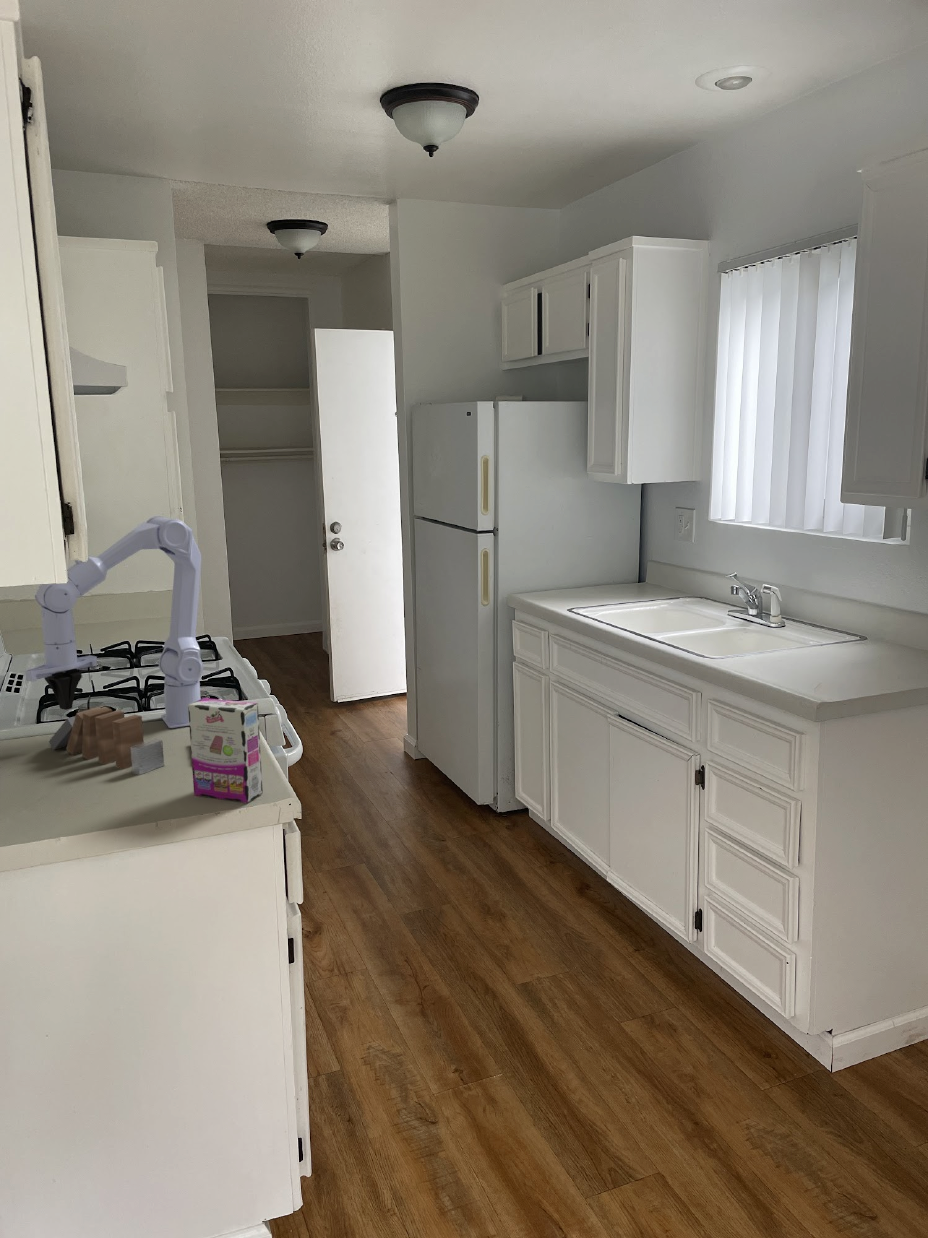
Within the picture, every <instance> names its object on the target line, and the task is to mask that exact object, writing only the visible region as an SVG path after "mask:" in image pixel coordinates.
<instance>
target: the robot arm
mask: <svg viewBox="0 0 928 1238" xmlns="http://www.w3.org/2000/svg"><path fill="white" fill-rule="evenodd" d="M193 532H194V531H193V529H191V527H189V526H188V525H187V524H186V523H185V522H184V521H182V520H181V519H179V518H167V517H164V516H161V515H159V516H153V517H150V518H148V520H147V521H146V522H142V523H140V524H137V526H135V528H134V529H132V530H131V531H130V532H128V533H127V534H126V535H124V536H123V537H121V538H120V539H118V541H115V543H114V544H112V545H111V546H109V547H108V548H107V549H106V550H104V551H103V552H102V553H100V554H99V555H98V556H96V557H93V556H88V561H87V562H82V561H78V560H76V559H75V560H74V562H75V564H73V565H72V566H70V567H69V568H68V569H66V570H67V571H68V579H69V581H68V582H67V584H42V583H41V584H42V585H41V584H40V585H39V586H38V589H37V590H36V594H35V595H34V598H35V601H36V602H37V604H38V605H39V606H40V612H41V628H42V629H41V630H42V637H43V638H42V639H43V647H44V649H43V650H44V658H45V663H44V664H42V665H39V666H36V667H33V668H30V669H27V670H24V675H25V681H28V682H31V683H33V682H36V681H37V680H41V679H44V680H45V682H46V683H47V684H48V685H49V686H50V688H51V690H52V692H53V694H54V696H55V698H56V700H57V703H58V706H59V709H60V710H64V711H65V710H67V711H68V710H72V709H73V704H74V699H75V694H76V691H77V688H78V685H79V683H80V681H81V679H82V678H83V677H82V676H83V675H82V672H81V671H78V670H81V669H85V668H90V667H97V666H98V658H97V657H98V656H95V655H85V656H81V657H78V654H77V651H78V650H77V643H76V632H75V631H76V630H75V620H74V615H73V608H74V607H75V605H76V603H77V599H79V598H81V597H82V596H84V595H86V594H87V593H88V592H90V591H91V590H93V589H94V588H95V587H97V586H99V585H100V584H101V583H103V582H104V581H106V579H107V574H108V571H109V570H111V569H112V568H114V567H115V566H118V565H119V564H120V563H122V562H124V561H125V560H126V559H129V558H130V557H131V556H133V555H135V554H136V553H138V552H140V551H141V550H161V551H162V552H164V554H165V555H166V556H168V557H169V558H170V559H171V561H173V563H174V569H173V570H174V571H173V582H172V583H173V584H172V598H171V599H172V600H171V610H170V624H169V635H168V637H167V639H166V640H165V641H164V645H163V650H162V653H161V654H160V656H159V659H158V667H159V670H160V672H162V674H164V680H163V682H164V689H163V694H164V698H163V699H164V711H165V714H161V715H160V717H161V719H162V720H163V722H164V723H165V725H166V726H167V728H168V729H174V728H183V727H187V726H189V712H188V705H189V704H192V703H194V702H196V701H198V700H201V699H202V698H201V686H200V685H201V683H200V678H201V676H202V675H203V672H204V663H203V661H202V659H201V648H200V645H199V643H198V641H197V639H196V636H197V635H196V634H197V621H198V610H199V609H198V608H199V596H200V582H201V569H202V554H201V552H200V551H201V550H200V548H199V547H198V545H197V542H196V539H194V533H193ZM189 727H190V726H189Z"/></svg>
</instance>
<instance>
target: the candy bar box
mask: <svg viewBox="0 0 928 1238" xmlns="http://www.w3.org/2000/svg"><path fill="white" fill-rule="evenodd" d="M188 712H189V735H190V736H189V737H190V750H191V751H190V753H191V754H190V755H191V767H192V784H193V794H194V796H196V795H198V796H199V797H203V798H209V797H210V799H216V798H218V799H217V800H223V801H232V802H238V803H239V802H240V803H246V804H247V803H250V802H252V801H253V800H255V799H256V798H258V797H260V796H261V795H262V794H263V791H264V790H263V773H262V760H261V759H262V757H261V737H260V721H259V720H260V718H259V717H260V716H259V703H258V702H250V701H249V702H247V701H241V700H240V701H239V700H229V699H217V698H206V697H204V698H201V700H198V701H196V702H194V703H192V704H189V705H188ZM198 796H197V797H198Z"/></svg>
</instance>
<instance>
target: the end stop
mask: <svg viewBox="0 0 928 1238" xmlns="http://www.w3.org/2000/svg"><path fill="white" fill-rule="evenodd" d="M163 742H164V741H163V740H162V739H160V738H153V739H150V740H147V741H144V742H143V743H140V744H138V745H135V746H132V747H131V760H132V767H131V770H132V771H131V773H132V774H135V775H138V776H140V775H144V774H146V773H149V772H151V771H154V770H156V769H159V768H161V767H165V758H164V756H165V755H164V745H163Z"/></svg>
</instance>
